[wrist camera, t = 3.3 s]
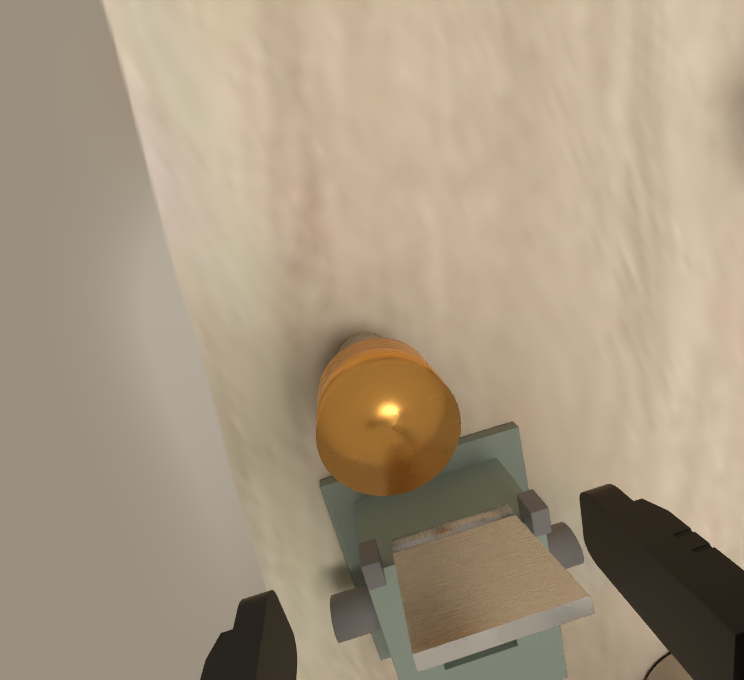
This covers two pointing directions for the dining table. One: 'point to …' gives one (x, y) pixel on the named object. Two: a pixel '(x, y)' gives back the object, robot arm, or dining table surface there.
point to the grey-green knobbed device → (428, 509)
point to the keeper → (480, 586)
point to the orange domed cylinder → (384, 417)
